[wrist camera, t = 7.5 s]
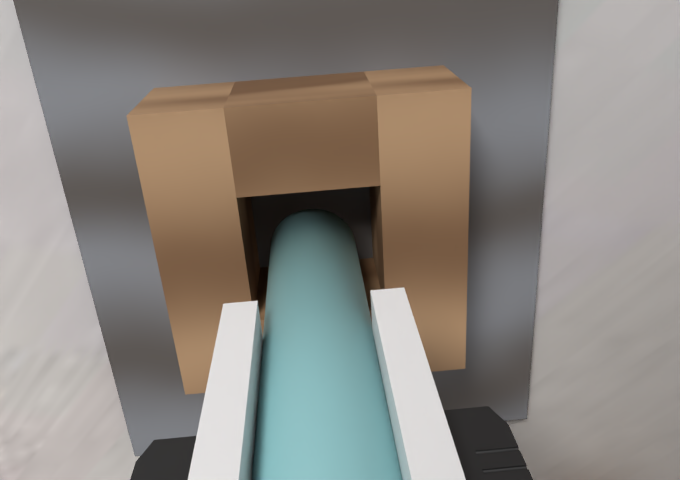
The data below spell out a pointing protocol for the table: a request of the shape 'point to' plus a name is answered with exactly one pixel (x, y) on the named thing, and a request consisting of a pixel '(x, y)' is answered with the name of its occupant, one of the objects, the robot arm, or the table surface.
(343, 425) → the banded teal rod
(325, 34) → the gray base plate
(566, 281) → the table surface
